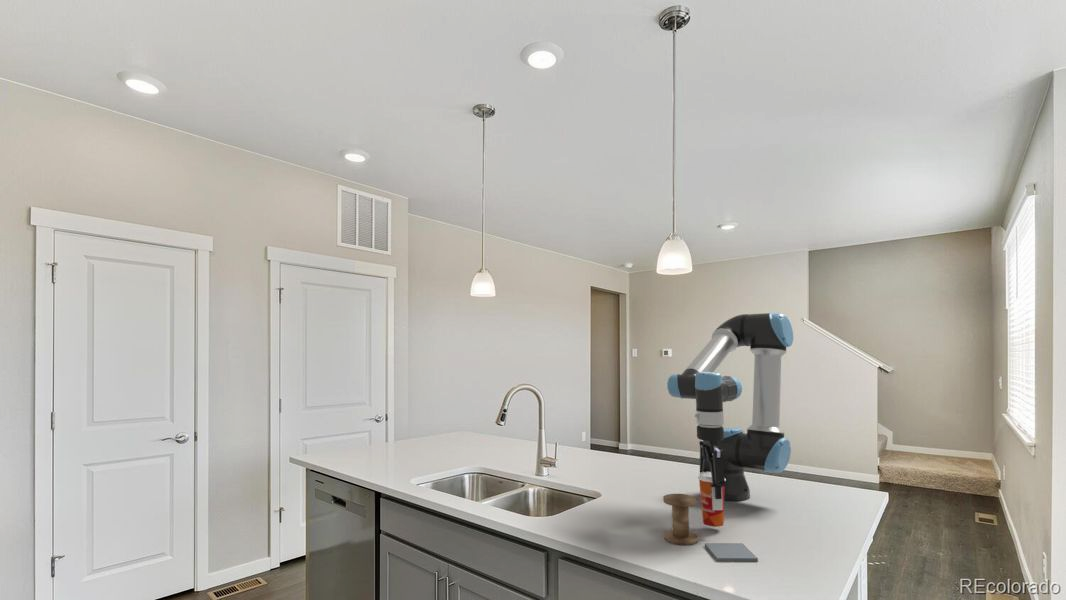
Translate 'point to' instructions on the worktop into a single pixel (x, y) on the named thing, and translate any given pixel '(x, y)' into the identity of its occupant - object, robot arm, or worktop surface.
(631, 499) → the worktop surface
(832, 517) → the worktop surface
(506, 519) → the worktop surface
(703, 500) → the paper cup
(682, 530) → the bobbin
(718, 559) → the grey square tile
